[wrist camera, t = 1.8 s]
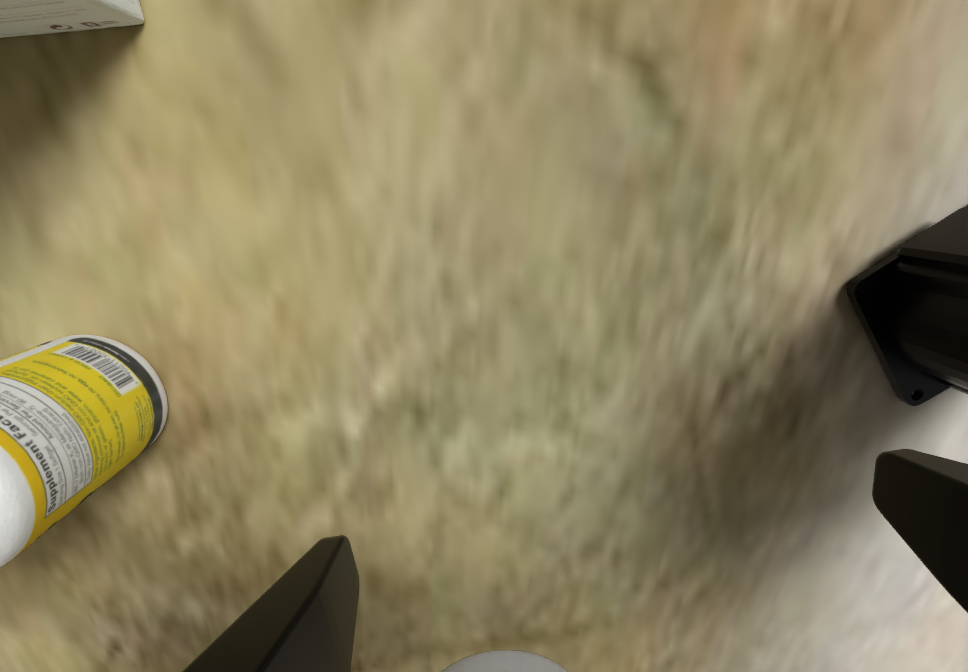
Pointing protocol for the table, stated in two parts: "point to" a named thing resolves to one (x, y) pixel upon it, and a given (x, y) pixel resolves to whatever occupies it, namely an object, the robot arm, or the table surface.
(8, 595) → the table surface
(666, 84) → the table surface
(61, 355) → the supplement bottle
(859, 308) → the robot arm
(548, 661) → the glass holder
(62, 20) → the supplement box
